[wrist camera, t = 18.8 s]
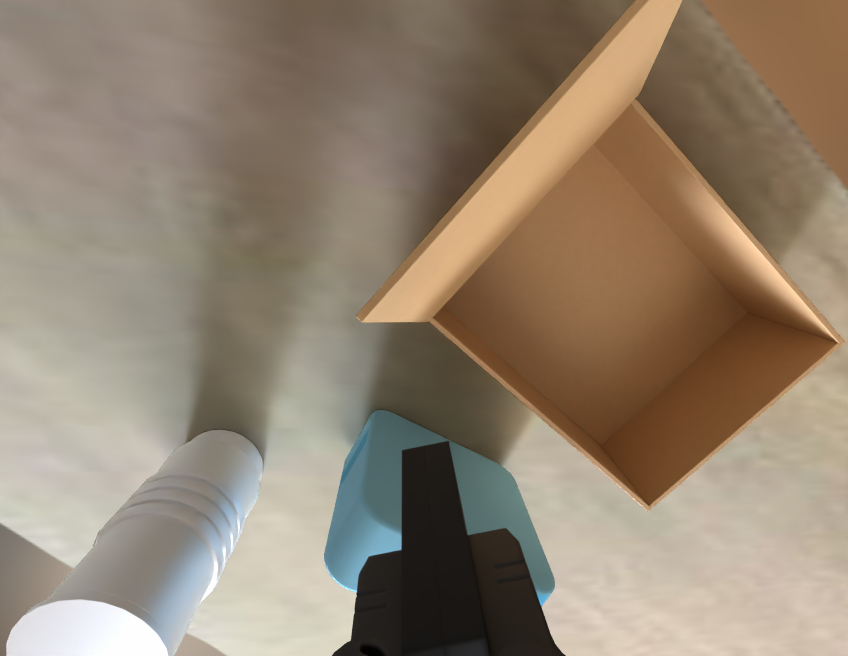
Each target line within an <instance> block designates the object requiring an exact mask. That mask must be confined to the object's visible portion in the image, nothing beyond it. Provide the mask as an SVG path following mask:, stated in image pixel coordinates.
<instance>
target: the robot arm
mask: <svg viewBox="0 0 848 656" xmlns="http://www.w3.org/2000/svg"><path fill="white" fill-rule="evenodd" d="M356 594H357V597H356V602H355V614H354V619H353V628H352V636H351V641H349V642H347V643H346V644H344V645H343V646H342V647H341V648H339V649H338V650H337V651H335V652H334V654H333V655H332V656H565V655H564V654H563V653H562V652H561V651H560V649H559V648H558V647H557V646H556V644H555V643H554V640H553V638H552V636H551V634H550V631H549V628H548V625H547V622H546V619H545V616H544V613H543V611H542V608H541V605H540V602H539V599H538V596H537V593H536V590H535V587H534V584H533V581H532V578H531V576H530V572H529V569H528V566H527V563H526V561H525V557H524V554H523V551H522V548H521V545H520V543H519V541H518V540H517V539H516V538H515V537H514V536H513V535H512V534H511V532H510V531H509V530H508V529H507V528H502V529H497V530H492V531H487V532H482V533H477V534H472V535H468V533H467V528H466V523H465V518H464V512H463V508H462V503H461V498H460V493H459V488H458V483H457V478H456V474H455V469H454V464H453V459H452V454H451V449H450V445H449V441H445V442H440V443H435V444H430V445H425V446H420V447H415V448H410V449H405V450H402V540H401V550H398V551H393V552H388V553H383V554H378V555H373V556H369V557H368V558H367V560H366V562H365V564H364V566H363V568H362V569H361V571H360V573H359V576H358V585H357V593H356Z"/></svg>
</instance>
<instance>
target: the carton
mask: <svg viewBox="0 0 848 656" xmlns="http://www.w3.org/2000/svg"><path fill="white" fill-rule="evenodd" d="M429 322H430V323H431V324H432V325H434V326H435V327H436V328H437V329H438V330H439V331H440V332H442V333H443V334H444V335H445V336H446V337H447V338H449V339H450V340H451V341H452V342H453V343H454V344H455V345H457V346H458V347H459V348H460V349H461V350H462V351H464V352H465V353H466V354H467V355H468V356H469V357H470V358H472V359H473V360H474V361H475V362H476V363H477V364H479V365H480V366H481V367H482V368H483V369H484V370H485V371H487V372H488V373H489V374H490V375H491V376H492V377H494V378H495V379H496V380H497V381H498V382H499V383H500V384H502V385H503V386H504V387H505V388H506V389H507V390H509V391H510V392H511V393H512V394H513V395H514V396H515V397H517V398H518V399H519V400H520V401H521V402H522V403H524V404H525V405H526V406H527V407H528V408H529V409H531V410H532V411H533V412H534V413H535V414H536V415H537V416H539V417H540V418H541V419H542V420H543V421H544V422H546V423H547V424H548V425H549V426H550V427H551V428H552V429H554V430H555V431H556V432H557V433H558V434H559V435H561V436H562V437H563V438H564V439H565V440H566V441H567V442H569V443H570V444H571V445H572V446H573V447H574V448H576V449H577V450H578V451H579V452H580V453H581V454H582V455H584V456H585V457H586V458H587V459H588V460H589V461H591V462H592V463H593V464H594V465H595V466H596V467H597V468H599V469H600V470H601V471H602V472H603V473H604V474H606V475H607V476H608V477H609V478H610V479H611V480H613V481H614V482H615V483H616V484H617V485H618V486H619V487H621V488H622V489H623V490H624V491H625V492H626V493H628V494H629V495H630V496H631V497H632V498H633V499H634V500H636V501H637V502H638V503H639V504H640V505H641V506H643V507H644V508H645V509H646V510H647V511H649V510H651V509H652V508H653V507H654V506H655V505H656V504H658V503H659V502H660V501H661V500H662V499H663V498H665V497H666V496H667V495H668V494H669V493H670V492H672V491H673V490H674V489H675V488H676V487H677V486H678V485H680V484H681V483H682V482H683V481H684V480H685V479H687V478H688V477H689V476H690V475H691V474H692V473H694V472H695V471H696V470H697V469H698V468H699V467H701V466H702V465H703V464H704V463H705V462H706V461H708V460H709V459H710V458H711V457H712V456H713V455H715V454H716V453H717V452H718V451H719V450H720V449H722V448H723V447H724V446H725V445H726V444H727V443H729V442H730V441H731V440H732V439H733V438H734V437H735V436H737V435H738V434H739V433H740V432H741V431H742V430H744V429H745V428H746V427H747V426H748V425H749V424H751V423H752V422H753V421H754V420H755V419H756V418H758V417H759V416H760V415H761V414H762V413H763V412H765V411H766V410H767V409H768V408H769V407H770V406H772V405H773V404H774V403H775V402H776V401H777V400H779V399H780V398H781V397H782V396H783V395H784V394H786V393H787V392H788V391H789V390H790V389H791V388H793V387H794V386H795V385H796V384H797V383H798V382H799V381H801V380H802V379H803V378H804V377H805V376H806V375H808V374H809V373H810V372H811V371H812V370H813V369H815V368H816V367H817V366H818V365H819V364H820V363H822V362H823V361H824V360H825V359H826V358H827V357H829V356H830V355H831V354H832V353H833V352H834V351H836V350H837V349H838V348H839V347H840V345H843V344H844V343H845V341H844V340H843V339H842V338H841V337H840V335H839V334H838V333H837V332H836V331H835V330H834V328H833V327H832V326H831V325H830V324H829V323H828V321H827V320H826V319H825V318H824V317H823V316H822V314H821V313H820V312H819V311H818V310H817V309H816V307H815V306H814V305H813V304H812V303H811V302H810V301H809V299H808V298H807V297H806V296H805V295H804V294H803V292H802V291H801V290H800V289H799V288H798V287H797V285H796V284H795V283H794V282H793V281H792V280H791V278H790V277H789V276H788V275H787V274H786V273H785V272H784V270H783V269H782V268H781V267H780V266H779V265H778V263H777V262H776V261H775V260H774V259H773V258H772V256H771V255H770V254H769V253H768V252H767V251H766V249H765V248H764V247H763V246H762V245H761V244H760V243H759V241H758V240H757V239H756V238H755V237H754V236H753V234H752V233H751V232H750V231H749V230H748V229H747V227H746V226H745V225H744V224H743V223H742V222H741V220H740V219H739V218H738V217H737V216H736V215H735V213H734V212H733V211H732V210H731V209H730V208H729V207H728V205H727V204H726V203H725V202H724V201H723V200H722V198H721V197H720V196H719V195H718V194H717V193H716V191H715V190H714V189H713V188H712V187H711V186H710V184H709V183H708V182H707V181H706V180H705V179H704V178H703V176H702V175H701V174H700V173H699V172H698V171H697V169H696V168H695V167H694V166H693V165H692V164H691V162H690V161H689V160H688V159H687V158H686V157H685V155H684V154H683V153H682V152H681V151H680V150H679V148H678V147H677V146H676V145H675V144H674V143H673V142H672V140H671V139H670V138H669V137H668V136H667V135H666V133H665V132H664V131H663V130H662V129H661V128H660V126H659V125H658V124H657V123H656V122H655V121H654V119H653V118H652V117H651V116H650V115H649V114H648V113H647V111H646V110H645V109H644V108H643V107H642V106H641V104H640V103H639V102H638V101H637V100H636V99H634V100H633V101H632V102H631V103H630V105H629V106H628V107H627V108H626V109H625V110H624V111H623V112H622V113H621V114H620V115H619V116H618V117H617V119H616V120H615V121H614V122H613V123H612V124H611V125H610V126H609V127H608V128H607V129H606V130H605V131H604V133H603V134H602V135H601V136H600V137H599V138H598V139H597V140H596V141H595V142H594V143H593V144H592V145H591V147H590V148H589V149H588V150H587V151H586V152H585V153H584V154H583V155H582V156H581V157H580V158H579V160H578V161H577V162H576V163H575V164H574V165H573V166H572V167H571V168H570V169H569V170H568V171H567V172H566V174H565V175H564V176H563V177H562V178H561V179H560V180H559V181H558V182H557V183H556V184H555V185H554V186H553V188H552V189H551V190H550V191H549V192H548V193H547V194H546V195H545V196H544V197H543V198H542V199H541V200H540V202H539V203H538V204H537V205H536V206H535V207H534V208H533V209H532V210H531V211H530V212H529V213H528V214H527V216H526V217H525V218H524V219H523V220H522V221H521V222H520V223H519V224H518V225H517V226H516V227H515V228H514V230H513V231H512V232H511V233H510V234H509V235H508V236H507V237H506V238H505V239H504V240H503V241H502V243H501V244H500V245H499V246H498V247H497V248H496V249H495V250H494V251H493V252H492V253H491V254H490V255H489V257H488V258H487V259H486V260H485V261H484V262H483V263H482V264H481V265H480V266H479V267H478V268H477V269H476V271H475V272H474V273H473V274H472V275H471V276H470V277H469V278H468V279H467V280H466V281H465V282H464V283H463V285H462V286H461V287H460V288H459V289H458V290H457V291H456V292H455V293H454V294H453V295H452V296H451V297H450V299H449V300H448V301H447V302H446V303H445V304H444V305H443V306H442V307H441V308H440V309H439V310H438V311H437V313H436V314H435V315H434V316H433V317H432V318H431V319H430V320H429Z"/></svg>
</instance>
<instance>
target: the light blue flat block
mask: <svg viewBox="0 0 848 656" xmlns="http://www.w3.org/2000/svg"><path fill="white" fill-rule="evenodd" d="M445 441H449V445H450V449H451V454H452V459H453V464H454V469H455V474H456V478H457V483H458V488H459V493H460V498H461V503H462V508H463V512H464V518H465V523H466V528H467V533H468V535H472V534H477V533H482V532H487V531H492V530H497V529H502V528H507V529H508V530H509V531H510V532H511V534H512V535H513V536H514V537H515V538H516V539H517V540H518V541H519V543H520V545H521V548H522V551H523V554H524V557H525V561H526V563H527V566H528V569H529V572H530V576H531V578H532V581H533V584H534V587H535V590H536V593H537V596H538V599H539V602H540V605H541V606H542V605H543V604H544V602H545V601H546V600H547V598H548V597H549V596H550V595H551V593H552V592H553V590H554V587H555V581H554V577H553V574H552V571H551V569H550V566H549V564H548V561H547V559H546V556H545V554H544V551H543V549H542V546H541V544H540V541H539V539H538V536H537V534H536V531H535V529H534V526H533V524H532V521H531V519H530V516H529V514H528V511H527V509H526V506H525V504H524V501H523V499H522V496H521V494H520V491H519V489H518V486H517V484H516V481H515V479H514V478H513V476H512V475H511V474H510V473H509V472H508V471H507V470H506V469H505V468H504V467H502V466H501V465H500V464H498V463H496V462H494V461H492V460H490V459H488V458H486V457H484V456H482V455H480V454H478V453H476V452H473V451H471V450H469V449H467V448H465V447H463V446H461V445H459V444H457V443H455V442H453V441H450V440H448V439H446V438H444V437H442V436H440V435H438V434H436V433H434V432H432V431H430V430H427V429H425V428H423V427H421V426H419V425H417V424H415V423H413V422H411V421H409V420H407V419H404V418H402V417H400V416H398V415H396V414H394V413H392V412H389V411H385V410H377V411H374V412H373V413H372V414H371V416H370V417H369V419H368V421H367V423H366V424H365V426H364V428H363V430H362V431H361V433H360V435H359V437H358V438H357V440H356V442H355V444H354V446H353V447H352V449H351V451H350V453H349V454H348V456H347V458H346V460H345V463H344V468H343V472H342V477H341V481H340V486H339V490H338V495H337V499H336V503H335V508H334V512H333V517H332V521H331V526H330V530H329V535H328V539H327V544H326V548H325V553H324V561H325V565H326V568H327V570H328V572H329V574H330V575H331V577H332V578H333V579H334V580H335V581H336V582H337V583H338V584H340V585H341V586H343V587H344V588H346V589H348V590H351V591H353V592H356V593H357V585H358V576H359V573H360V571H361V569H362V568H363V566H364V564H365V562H366V560H367V558H368V557H369V556H373V555H378V554H383V553H388V552H393V551H398V550H401V540H402V450H405V449H410V448H415V447H420V446H425V445H430V444H435V443H440V442H445Z"/></svg>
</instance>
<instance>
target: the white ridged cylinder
mask: <svg viewBox="0 0 848 656" xmlns="http://www.w3.org/2000/svg"><path fill="white" fill-rule="evenodd" d="M262 473H263V462H262V457H261V455H260V453H259V451H258V449H257V448H256V447H255V446H254V445H253V443H252V442H251V441H249V440H248V439H246V438H245V437H244V436H242V435H240V434H237V433H235V432H232V431H226V430H211V431H207V432H204V433H201V434H200V435H198V436H196V437H195V438H193V439H192V440H191V441H190V442H188V443H185V444H183V445H182V446H180V447H179V448H177V449H175V450H174V451H173V453H172V454H171V455H170V456H169V457H168V458H167V460H166V461H165V462H164V464H163V465H162V466H161V468H160V469H159V471H158V472H157V473H156V474H154V475H153V476H151V477H149V478H148V479H147V480H146V481H145V482H144V483H143V484H142V485H141V486H140V487H139V489H138V490H137V491H136V492H135V493H134V494H133V495H132V496H131V497H130V498H129V499H128V501H127V502H126V503H125V504H124V505H123V506H122V507H121V508H120V509H119V510H118V511H117V513H116V514H115V515H114V516H113V517H112V518H111V519H110V520H109V521H108V522H107V523H106V524H105V526H104V527H103V528H102V529H101V530H100V531H99V532H98V535H97V537H96V540H95V542H94V545H93V548H92V549H91V550H90V552H89V553H88V554H87V555H86V556H85V557H84V558H83V559H82V561H81V562H80V563H79V564H78V565H77V566H76V567H75V568H74V569H73V571H72V572H71V573H70V574H69V575H68V576H67V578H66V579H65V580H64V581H63V582H62V583H61V584H60V585H59V586H58V587H57V589H56V590H55V591H54V592H53V593H52V594H51V595H50V596H49V598H47V599H45V600H43V601H41V602H40V603H38V604H37V605H35V606H33V607H32V608H30V609H29V611H27V613H26V614H25V615H24V616H23V617H22V618H21V619H20V620H19V622H18V623H17V624H16V625H15V626H14V627H13V628H12V630H11V633H10V636H9V638H8V641H7V656H175V653H176V651H177V649H178V647H179V645H180V643H181V641H182V639H183V637H184V635H185V633H186V631H187V629H188V627H189V625H190V623H191V621H192V619H193V617H194V615H195V613H196V611H197V609H198V607H199V605H200V603H201V601H202V600H203V599H204V598H206V596H207V595H208V594H209V593H210V592H211V591H212V590H213V589H214V588H215V586H216V584H217V582H218V580H219V578H220V576H221V574H222V572H223V570H224V568H225V566H226V564H227V562H228V560H229V558H230V555H231V553H232V551H233V549H234V547H235V545H236V543H237V541H238V539H239V537H240V535H241V533H242V531H243V528H244V521H245V518H246V517H247V515H248V514H249V512H250V511H251V509H252V507H253V506H254V504H255V502H256V500H257V498H258V496H259V492H260V485H261V484H260V479H261V477H262Z"/></svg>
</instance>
